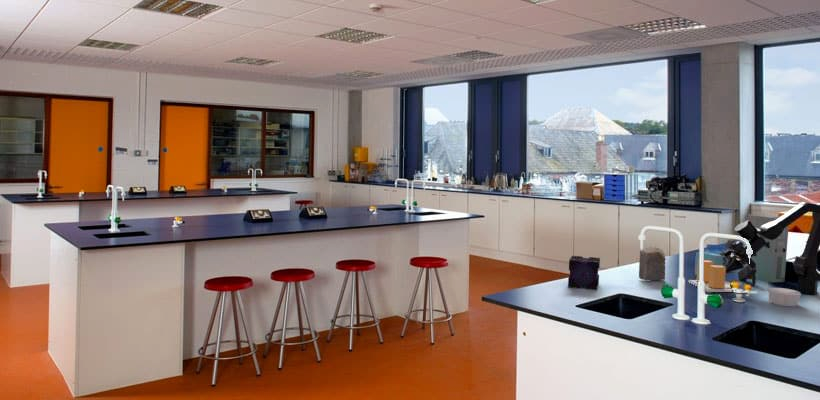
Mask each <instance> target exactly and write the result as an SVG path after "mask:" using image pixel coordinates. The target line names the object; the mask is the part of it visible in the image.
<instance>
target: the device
mask: <svg viewBox="0 0 820 400" xmlns="http://www.w3.org/2000/svg"><path fill="white" fill-rule="evenodd" d="M778 218H780V216H777V215H776V216H775V215H760V214H759V215H757V214H753V213H751V214H748V215H747V220H748V221H750V222H751V223H752V225H753V226H754V227H755V228H760V227H761V226H762V225H764V224H766V223H769V222H772V221H775V220H777V219H778ZM757 235H758V236H759V237H761V236H760V235H759V234H757ZM763 239H764V240H765V241H768V242H770V244H769V245H770V248H765V247H762V248H761V249H760V250H759V251H758V252H757V253H756V254H757V256H756V257H755V256H753V257H751V259H752V260H753V261H754V262H755V263H756V271H757V272H756V274H755V278H756V280H761V281H764V282H767V283H784V282H785V276H786V265H787V251H788V240H789V225H788V226H787V227H786V228H785V229H784V230H783V232H782V234H781V235H779V236H778V237H777V238H776V239H774V240H770V239H766V238H763ZM748 241H749V240H748ZM746 266H748V265H747V264H746V265H745V266H744V267H746Z"/></svg>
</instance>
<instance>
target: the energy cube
mask: <svg viewBox="0 0 820 400" xmlns="http://www.w3.org/2000/svg"><path fill="white" fill-rule="evenodd" d="M600 264H601V258H600V257H593V256H592V257H591V256H589V257H583V256H581V255H571V256H570V258H569V262H568V271H569V276H568V279H567V288H571V289H573V288H574V289H579V288H584V289H586V290H590V291H598V287H599V283H600V280H599V279H600V275H599V269H600V268H601V267H600Z"/></svg>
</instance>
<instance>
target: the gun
mask: <svg viewBox="0 0 820 400" xmlns="http://www.w3.org/2000/svg"><path fill="white" fill-rule="evenodd" d="M756 272H757V271H756V268H754V269H753V270H751V269H749V266H746V267H745V268H742V269H739V271H738V272H737V277H738V281H742V282H743V281H747V280H751V287H752V286H754V287H755V286H756V282H757V281H756V280H757V279H756V278H755V274H756Z"/></svg>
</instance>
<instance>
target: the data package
mask: <svg viewBox="0 0 820 400" xmlns="http://www.w3.org/2000/svg"><path fill="white" fill-rule="evenodd" d="M699 252H700V251H697V252H696V253H695V263H694V275H695V276H696V275H697V264H698V260H699ZM703 252H704V260H708V261H711V262H713V265H718V266H722V263H723V257H722V256H721V255H719V254H714V253H709V252H706V251H703Z"/></svg>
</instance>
